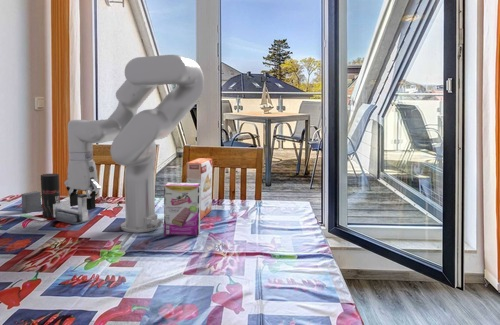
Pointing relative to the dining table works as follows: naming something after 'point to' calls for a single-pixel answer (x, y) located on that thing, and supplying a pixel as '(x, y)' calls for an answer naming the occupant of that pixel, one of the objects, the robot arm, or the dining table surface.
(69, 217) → the grey metal bracket
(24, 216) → the green band
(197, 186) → the candy bar box
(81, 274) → the dining table surface
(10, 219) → the dining table surface
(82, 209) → the grey angular piece
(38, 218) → the strips
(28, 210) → the grey flat block
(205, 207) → the cracker box
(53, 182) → the deodorant
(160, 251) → the dining table surface
